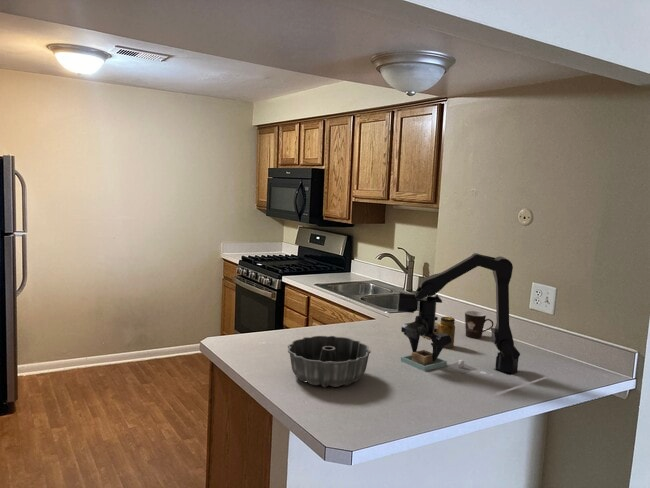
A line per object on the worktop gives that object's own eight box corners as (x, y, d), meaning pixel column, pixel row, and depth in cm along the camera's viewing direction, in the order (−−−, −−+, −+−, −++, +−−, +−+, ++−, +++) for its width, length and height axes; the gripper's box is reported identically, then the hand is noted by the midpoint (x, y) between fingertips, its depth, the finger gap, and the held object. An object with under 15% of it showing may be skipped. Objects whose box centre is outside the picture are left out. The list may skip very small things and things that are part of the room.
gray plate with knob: (477, 370, 179) (478, 362, 179) (462, 374, 175) (463, 366, 174) (459, 363, 186) (459, 355, 185) (444, 367, 181) (444, 359, 181)
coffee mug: (458, 334, 223) (460, 311, 222) (474, 332, 227) (476, 310, 226) (477, 342, 213) (479, 318, 211) (493, 340, 216) (495, 317, 215)
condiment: (444, 344, 208) (446, 314, 207) (461, 350, 202) (464, 319, 201) (432, 347, 204) (434, 317, 202) (450, 353, 197) (452, 322, 196)
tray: (446, 367, 182) (446, 361, 181) (424, 372, 175) (424, 366, 175) (422, 357, 191) (423, 352, 190) (400, 362, 184) (401, 356, 184)
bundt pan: (295, 397, 151) (297, 363, 150) (279, 365, 176) (280, 336, 175) (380, 391, 158) (382, 359, 157) (353, 361, 183) (354, 334, 182)
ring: (435, 364, 182) (436, 354, 182) (423, 367, 178) (424, 357, 178) (423, 359, 187) (423, 349, 186) (411, 362, 183) (411, 352, 183)
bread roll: (418, 345, 217) (418, 330, 213) (421, 329, 226) (422, 315, 222) (442, 348, 215) (443, 333, 210) (445, 332, 223) (445, 317, 219)
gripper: (391, 310, 183) (388, 353, 185) (431, 323, 168) (428, 369, 170) (413, 307, 190) (411, 348, 192) (454, 319, 175) (450, 363, 177)
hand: (424, 357), depth 182 cm, fingers open, 9 cm apart
